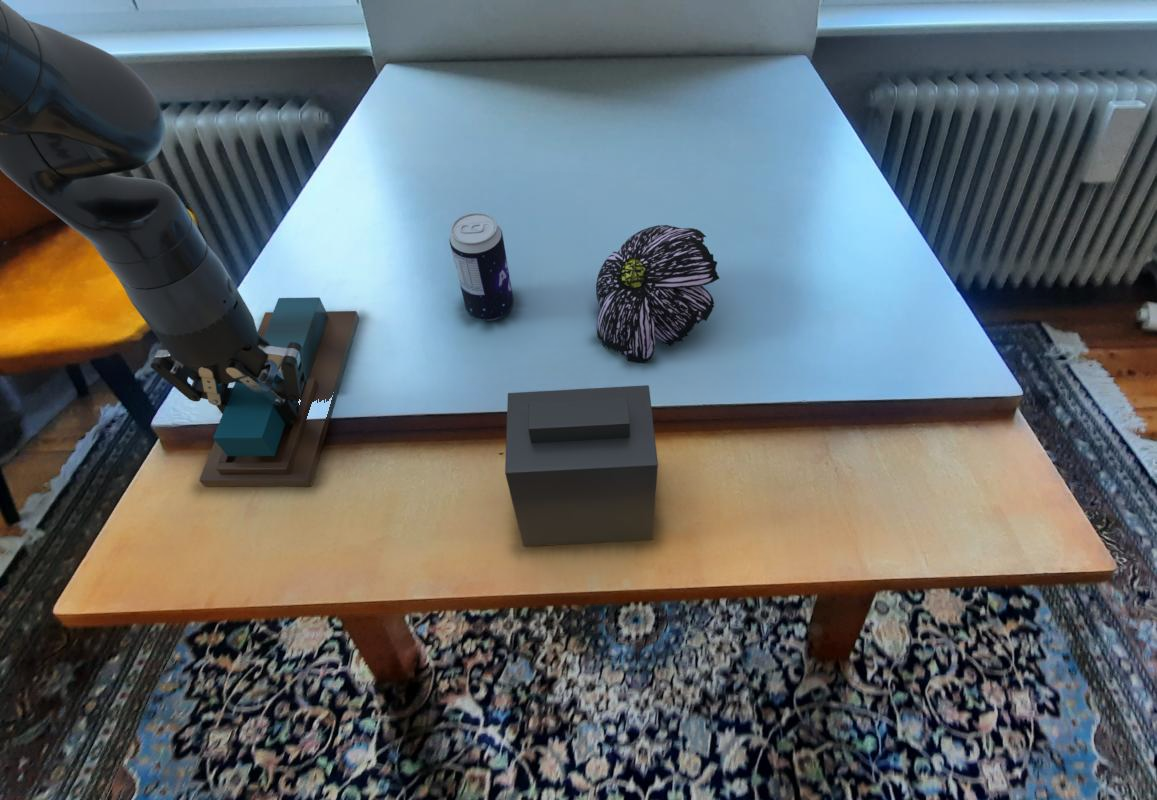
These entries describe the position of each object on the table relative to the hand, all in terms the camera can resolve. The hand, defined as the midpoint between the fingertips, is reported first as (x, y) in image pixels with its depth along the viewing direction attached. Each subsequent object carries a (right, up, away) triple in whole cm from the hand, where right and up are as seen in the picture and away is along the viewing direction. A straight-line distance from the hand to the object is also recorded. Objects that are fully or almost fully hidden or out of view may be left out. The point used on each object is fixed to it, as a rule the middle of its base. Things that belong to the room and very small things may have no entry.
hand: (266, 417), depth 75 cm
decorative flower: (+40, +11, +9) cm, 43 cm away
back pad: (0, 0, 0) cm, 0 cm away
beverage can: (+22, +13, +12) cm, 28 cm away
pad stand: (+33, -8, -5) cm, 34 cm away
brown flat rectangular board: (0, +2, +5) cm, 5 cm away
